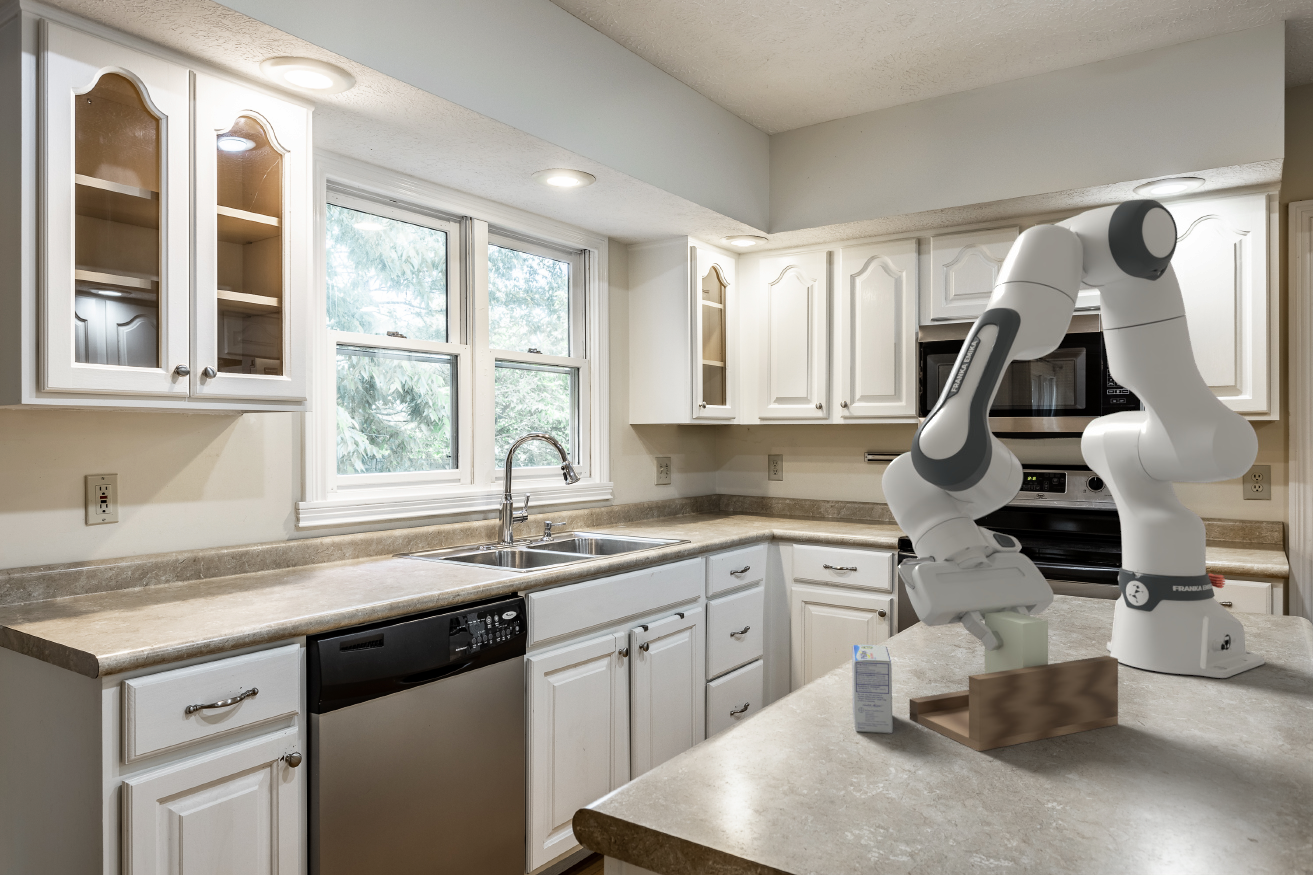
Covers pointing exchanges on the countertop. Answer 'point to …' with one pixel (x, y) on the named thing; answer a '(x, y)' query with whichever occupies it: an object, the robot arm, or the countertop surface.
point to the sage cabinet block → (1017, 641)
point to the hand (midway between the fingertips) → (1013, 645)
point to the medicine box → (872, 689)
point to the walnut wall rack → (1025, 704)
